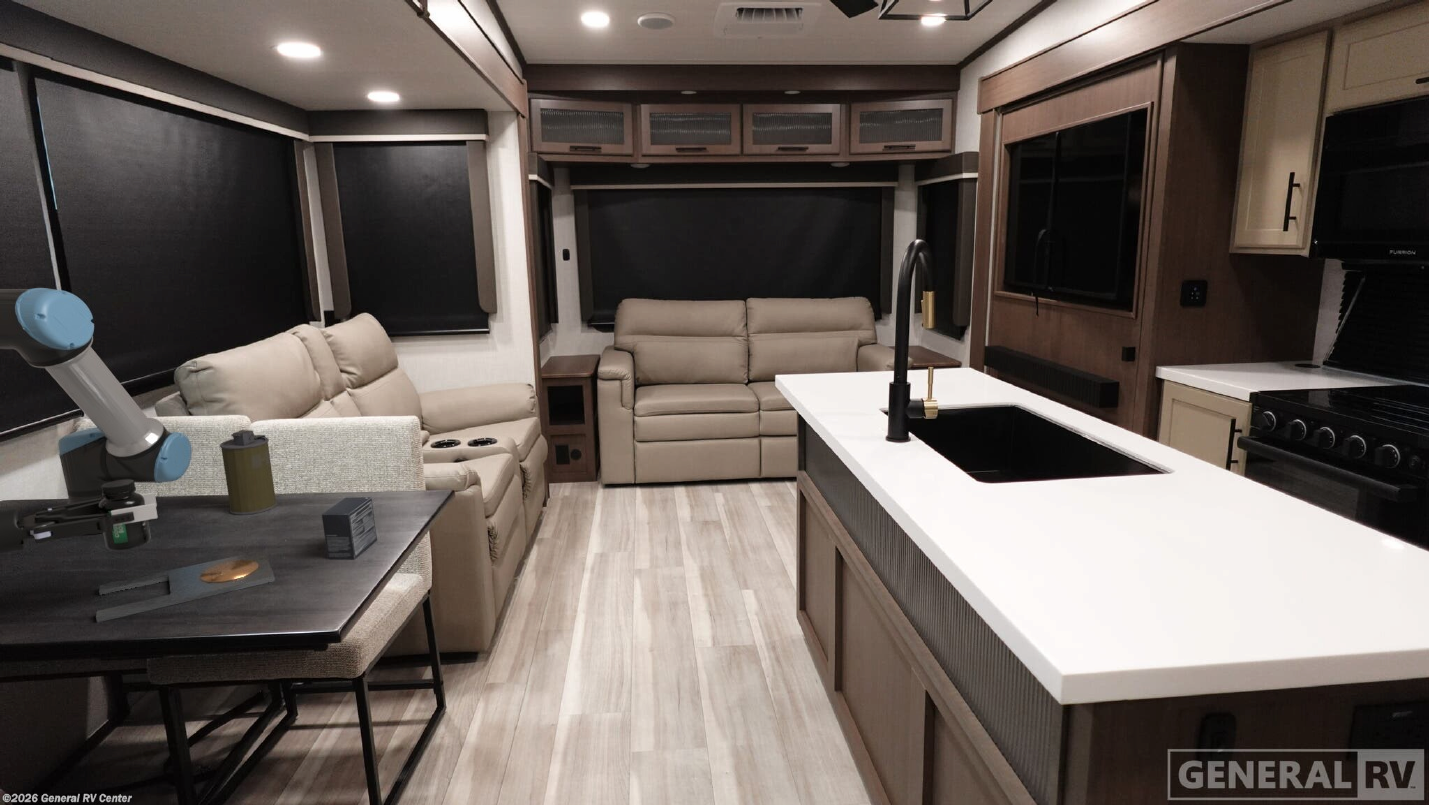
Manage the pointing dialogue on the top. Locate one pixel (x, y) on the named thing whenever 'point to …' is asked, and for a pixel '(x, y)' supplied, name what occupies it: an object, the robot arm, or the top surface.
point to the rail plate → (193, 583)
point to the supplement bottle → (119, 498)
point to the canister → (248, 473)
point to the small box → (349, 528)
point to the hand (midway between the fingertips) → (155, 504)
